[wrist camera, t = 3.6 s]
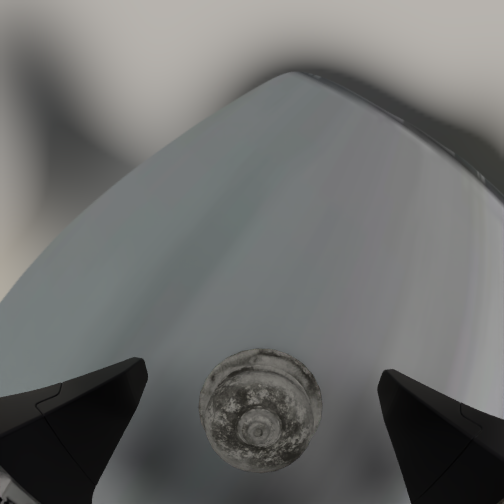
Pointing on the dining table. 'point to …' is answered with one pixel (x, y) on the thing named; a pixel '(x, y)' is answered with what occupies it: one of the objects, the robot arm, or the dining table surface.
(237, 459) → the grey tall rounded piece
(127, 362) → the robot arm
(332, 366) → the dining table surface
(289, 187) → the dining table surface
